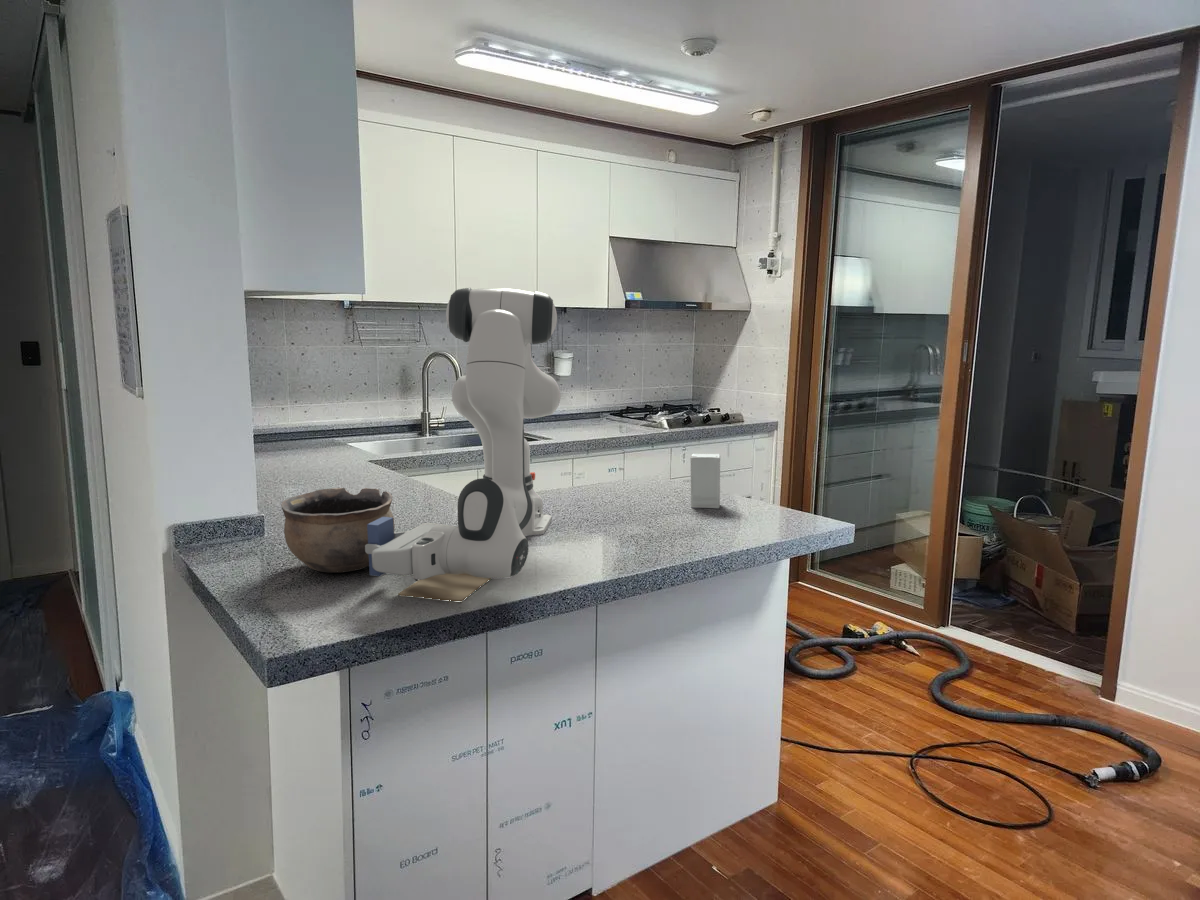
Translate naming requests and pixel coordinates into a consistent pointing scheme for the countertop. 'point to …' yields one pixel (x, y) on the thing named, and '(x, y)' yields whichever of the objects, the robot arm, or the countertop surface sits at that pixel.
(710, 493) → the skincare box
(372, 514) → the ceramic bowl
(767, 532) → the countertop surface
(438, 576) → the mat
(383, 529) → the box
